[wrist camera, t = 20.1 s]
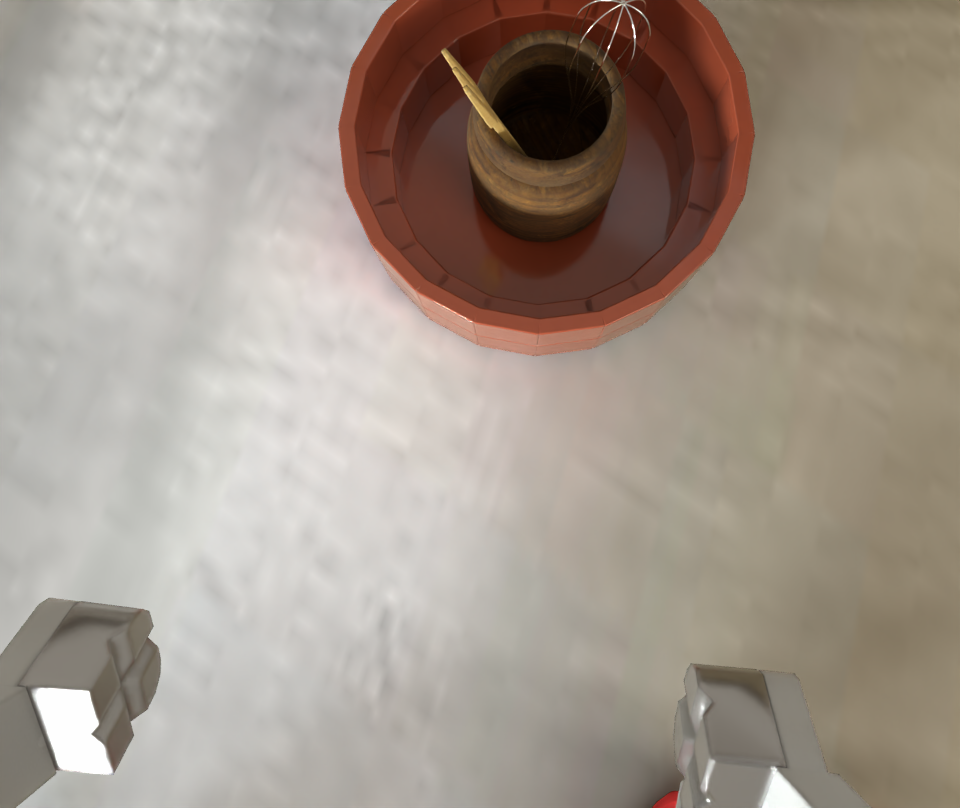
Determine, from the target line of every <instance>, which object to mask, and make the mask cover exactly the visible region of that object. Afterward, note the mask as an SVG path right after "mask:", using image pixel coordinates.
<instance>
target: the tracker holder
mask: <svg viewBox="0 0 960 808" xmlns="http://www.w3.org/2000/svg"><path fill="white" fill-rule="evenodd" d="M683 781H684V780H683ZM683 781H681V783H680V788H679V791H672V792H670V793H668V794H667V795H666V796H664V797H663V798H662V799H660V800H659V801H657V802H656V804H655V805H654V806H653V807H652V808H681V801H680V792H681V788H682V784H683Z"/></svg>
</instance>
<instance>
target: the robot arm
mask: <svg viewBox="0 0 960 808" xmlns="http://www.w3.org/2000/svg"><path fill="white" fill-rule="evenodd" d="M153 627H154V626H153V622H152V619H151V615H150V612H149V611H148V610H144V609H138V608H130V607H123V606H115V605H107V604H99V603H91V602H84V601H72V600H64V599H56V598H48V599H46V600H45V601H43V602H42V603H40V604H39V605H38V606H37V607H36V608H35V610H34V611H33V612H32V614H31V615H30V616H29V618H28V619H27V620H26V622H25V623H24V624H23V626H22V627H21V628H20V630H19V631H18V632H17V634H16V635H15V636H14V638H13V639H12V640H11V642H10V643H9V644H8V646H7V647H6V648H5V650H4V651H3V652H2V654H1V655H0V808H16V807H17V806H18V805H19V804H21V803H22V802H23V801H24V800H25V799H27V798H28V797H29V796H30V795H31V794H33V793H34V792H35V791H36V790H37V789H39V788H40V787H41V786H42V785H43V784H45V783H46V782H47V781H48V780H49V779H51V778H52V777H53V776H54V775H55V774H56V770H60V771H72V772H84V773H96V774H109V775H114V773H115V771H116V769H117V767H118V765H119V763H120V761H121V759H122V757H123V755H124V754H125V752H126V750H127V748H128V746H129V744H130V742H131V740H132V738H133V736H134V733H133V730H132V726H131V722H130V721H132V720H133V719H135V718H136V717H137V716H139V715H140V714H142V713H143V712H145V711H146V710H147V709H148V707H149V705H150V703H151V701H152V699H153V697H154V695H155V693H156V689H157V685H158V681H159V677H160V672H161V658H160V653H159V648H158V646H157V645H155V644H154V643H153V642H152V641H151V640H150V639H149V638H148V636H149V634H150V632H151V630H152V629H153ZM684 685H685V692H686V696H685V697H683V698H682V699H681V700H679V701H678V705H677V710H676V714H675V723H674V753H675V762H676V767H677V768H678V769H679V771H680V772H681V773H682V774H683V775H684V781H683V784H682V788H681V792H680V801H681V808H872V807H871V806H870V805H869V804H868V803H867V802H866V801H865V800H864V799H863V798H862V797H861V796H860V795H859V794H858V793H857V792H856V791H855V790H854V789H853V788H852V787H851V786H850V785H849V784H848V783H847V782H846V781H845V780H844V779H843V778H842V777H841V776H840V775H839V774H834V773H828V770H827V767H826V764H825V761H824V757H823V754H822V751H821V748H820V744H819V741H818V738H817V735H816V731H815V728H814V725H813V722H812V718H811V715H810V712H809V709H808V706H807V702H806V699H805V696H804V693H803V689H802V686H801V683H800V680H799V678H798V677H797V676H796V675H795V673H786V672H775V671H765V670H759V671H758V670H757V669H748V668H736V667H725V666H714V665H703V664H690V665H689V667H688V668H687V671H686V675H685V678H684Z"/></svg>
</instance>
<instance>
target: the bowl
mask: <svg viewBox="0 0 960 808" xmlns="http://www.w3.org/2000/svg"><path fill="white" fill-rule="evenodd" d="M591 1H592V0H397V1H396V2H394V3H393V4H392V5H391V6H390V7H389V8H388V9H387V10H386V11H385V12H384V14H382V16H381V17H380V19H379V21H378V22H377V24H376V26H375V27H374V29H373V31H372V33H371V34H370V36H369V38H368V39H367V41H366V43H365V45H364V46H363V48H362V50H361V51H360V53H359V55H358V56H357V58H356V60H355V62H354V63H353V65H352V67H351V71H350V75H349V80H348V85H347V89H346V94H345V98H344V103H343V108H342V112H341V117H340V121H339V128H338V129H339V138H340V147H341V156H342V165H343V174H344V183H345V188H346V192H347V194H348V196H349V198H350V200H351V202H352V205H353V207H354V209H355V211H356V213H357V215H358V218H359V220H360V222H361V224H362V226H363V228H364V230H365V233H366V235H367V237H368V239H369V241H370V243H371V245H372V247H373V249H374V250H375V252H376V254H377V256H378V257H379V259H380V261H381V262H382V264H383V266H384V268H385V269H386V271H387V273H388V275H389V276H390V277H391V279H392V280H393V281H394V283H395V284H396V285H397V286H398V287H399V288H400V289H401V290H402V291H403V292H404V293H405V294H406V295H407V296H408V297H409V298H410V299H411V300H412V302H413V303H414V304H415V305H416V306H417V307H418V308H419V309H420V310H421V311H422V312H423V313H424V314H425V315H426V316H427V317H429V319H430V320H432V321H434V322H436V323H438V324H440V325H441V326H443V327H445V328H447V329H449V330H451V331H453V332H454V333H456V334H458V335H460V336H462V337H464V338H465V339H467V340H469V341H471V342H473V343H475V344H477V345H480V346H483V347H489V348H494V349H500V350H505V351H510V352H516V353H521V354H527V355H532V356H540V355H547V354H555V353H563V352H571V351H578V350H586V349H592V347H593V348H595V347H597V346H599V345H601V344H603V343H605V342H608V341H610V340H612V339H614V338H616V337H618V336H620V335H623V334H625V333H627V332H629V331H631V330H633V329H635V328H637V327H640V326H642V325H643V324H644V323H646V322H648V321H649V320H650V319H651V318H652V317H653V316H654V315H655V314H656V313H657V312H658V311H659V310H660V309H661V308H662V307H664V306H665V305H666V304H667V303H668V302H669V301H670V300H671V299H672V298H673V297H674V296H675V295H676V294H677V293H678V292H679V291H681V290H682V289H683V288H684V287H685V286H686V285H687V283H688V282H689V281H690V280H691V279H692V278H693V276H694V275H695V274H696V273H697V272H698V271H699V270H700V268H701V267H702V266H703V265H704V264H705V263H706V261H707V260H708V259H709V258H710V257H711V256H712V254H713V253H714V252H715V250H716V248H717V246H718V245H719V243H720V241H721V239H722V237H723V235H724V233H725V232H726V230H727V228H728V226H729V224H730V222H731V220H732V219H733V217H734V215H735V213H736V211H737V209H738V207H739V206H740V204H741V202H742V200H743V197H744V195H745V190H746V184H747V178H748V172H749V166H750V160H751V154H752V148H753V143H754V137H755V134H754V133H755V131H754V125H753V119H752V113H751V107H750V101H749V95H748V89H747V83H746V77H745V72H744V69H743V68H742V66H741V64H740V62H739V60H738V58H737V56H736V55H735V53H734V51H733V49H732V47H731V45H730V43H729V41H728V40H727V38H726V36H725V34H724V32H723V30H722V28H721V26H720V25H719V23H718V21H717V19H716V17H714V15H713V14H712V13H711V12H710V11H709V10H708V9H707V8H706V7H705V6H704V5H703V4H702V3H700V2H699V1H698V0H644V1H645V3H646V12H645V14H644V15H645V17H646V18H647V20H648V22H649V25H650V30H651V33H650V38H649V41H648V44H647V46H646V48H645V50H644V52H643V54H642V57H641V59H640V60H639V62H638V64H637V65H636V67H635V68H634V70H633V71H632V72H631V73H630V74H629V75H628V76H627V77H626V78H625V79H624V80H623V85H624V90H625V97H626V121H627V145H626V151H625V155H624V159H623V163H622V167H621V170H620V173H619V175H618V178H617V181H616V184H615V187H614V189H613V192H612V194H611V196H610V199H609V200H608V202H607V204H606V206H605V207H604V209H603V210H602V212H601V213H600V214H599V216H598V217H597V218H596V219H595V220H594V221H593V222H592V223H591V224H590V225H589V226H587V227H586V228H585V229H583V230H582V231H580V232H578V233H577V234H575V235H573V236H570V237H568V238H565V239H562V240H558V241H553V242H532V241H527V240H523V239H520V238H517V237H514V236H512V235H510V234H508V233H507V232H505V231H503V230H502V229H500V228H499V227H498V226H497V225H495V224H494V223H493V222H492V221H491V220H490V219H489V217H488V216H487V215H486V214H485V212H484V211H483V209H482V208H481V206H480V204H479V202H478V200H477V198H476V195H475V192H474V189H473V185H472V181H471V176H470V169H469V162H468V153H467V126H468V120H469V115H470V112H471V109H472V106H473V103H472V102H471V101H470V99H469V98H468V96H467V95H466V93H465V91H464V90H463V86H462V85H461V83H460V82H459V80H458V79H457V77H456V76H455V74H454V73H453V71H452V68H451V66H450V65H449V63H448V62H447V60H446V59H445V57H444V56H443V54H442V52H441V51H442V49H444V48H446V49H447V50H448V51H449V53H450V54H451V55H452V56H453V57H454V58H455V60H456V61H457V62H458V63H459V64H460V65H461V67H462V68H463V69H464V70H465V71H466V72H467V74H468V75H469V76H470V77H471V78H472V80H473V81H474V82H475V84H476V85H478V82H479V79H480V76H481V74H482V72H483V70H484V68H485V66H486V65H487V63H488V62H489V60H490V59H491V58H492V57H493V55H494V54H495V53H496V52H497V51H498V50H499V49H501V48H502V47H503V46H504V45H506V44H507V43H509V42H510V41H512V40H513V39H515V38H517V37H520V36H522V35H525V34H527V33H531V32H535V31H541V30H562V31H567V32H569V31H570V29H571V27H572V24H573V22H574V20H575V17H576V16H577V14H578V12H579V11H580V10H581V9H582V8H583V7H584V6H585V5H587V4H589V3H591ZM593 1H597V0H593ZM617 1H619V0H617ZM623 1H624V0H623ZM626 1H629V0H625V2H626ZM620 2H621V0H620ZM617 4H618V2H612V1H600V2H596V3H593V4H591V6H590V9H589V11H588V13H587V16H586V19H585V21H584V25H583V28H582V32H581V36H584V35H585V33H586V32H587V31H588V29H589V28H590V27H591V26H592V25H593V24H594V23H595V22H596V21H597V20H598V19H599V18H600V17H601V16H602V15H604V14H605V13H606V12H608V11H609V10H611V9H612V8H614V7H616V6H617ZM619 4H621V3H619ZM627 4H629V5H631V6H633V7H635V8H637V9H638V10H639V11H641V12H642V13H644V10H645V5H644V2H642V1H640V0H636V1H631V2H628V3H627ZM626 6H627V5H626ZM588 7H589V6H587V7H585V8H584V9H583V10H582V11H581V12H580V13H579V15H578V17H577V19H576V21H575V23H574V26H573V28H572V30H571V33H575V34H578V35H580V30H581V26H582V23H583V20H584V17H585V14H586V12H587V10H588ZM627 8H628V10H629V12H630V15H631V17H632V20H633V24H634V29H635V31H636V29H637V27H638V24H639V22H640V20H641V18H642V15H641V14H640V13H639V12H638V11H636V10H635V9H633V8H631V7H629V6H627ZM621 9H622V5H621V6H619V7H617V9H616V12H615V14H614V16H613V18H612V21H611V23H610V25H609V28H608V30H607V33H606V35H605V38H604V40H603V43H602V45H601V49H602V50H604V51H605V52H607V49H608V47H609V44H610V42H611V39H612V36H613V33H614V30H615V28H616V25H617V21H618V18H619V15H620V12H621ZM614 10H615V9H614ZM614 10H612V11H611V12H609V13H608V14H606V15H605V16H604V17H602V18H601V19H600V20H599V21H598V22H597V23H596V24H595V25H594V26H593V27H592V28H591V29H590V31H589V32H588V33H587V35H586V36H585V38H587V39H589V40H590V41H592V42H594V43H595V44H596V45H598V46H599V47H600V44H601V42H602V39H603V36H604V34H605V31H606V29H607V27H608V24H609V22H610V19H611V17H612V15H613V13H614ZM633 35H634V32H633V27H632V23H631V19H630V17H629V14H628V12H627V10H626V8H625V6H624V7H623V11H622V14H621V17H620V20H619V23H618V26H617V29H616V32H615V35H614V38H613V41H612V43H611V46H610V48H609V51H608V54H607V55H608V56H609V57H610V58H611V59H612V61H613V62H614V63H615V62H616V61H617V60H618V58H619V57H620V56H621V54H622V53H623V51H624V50H625V49H626V47H627V45H628V44H629V42H630V40H631V39H632V37H633ZM635 37H636V45H635V53H634V56H633V59H632V62H631V64H630V66H629V68H628V71H627V73H626V75H627V74H628V73H629V72H630V71H631V70H632V69H633V67H634V66H635V64H636V63H637V61H638V59H639V57H640V55H641V53H642V51H643V49H644V47H645V44H646V42H647V39H648V37H649V27H648V24H647V22H646V20H645V18H644V17H643V19H642V21H641V23H640V26H639V28H638V30H637V32H636V34H635ZM633 50H634V38H633V40H632V41H631V43H630V45H629V46H628V48H627V50H626V51H625V52H624V54H623V55H622V57H621V58H620V59H619V60H618V62H617V63H616V64H615V65H616V67H617V69H618V71H619V73H620V76H621V78H623V76H624V74H625V71H626V69H627V67H628V65H629V63H630V60H631V58H632V55H633ZM626 75H625V76H626Z"/></svg>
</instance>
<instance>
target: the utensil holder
mask: <svg viewBox="0 0 960 808" xmlns="http://www.w3.org/2000/svg"><path fill="white" fill-rule="evenodd" d="M600 1H612V2H618V4H617V6H616V7H614V8H612V9H611V10H609V11H608V12H606V13H605V14H604V15H602V16H601V17H600V18H599V19H598V20H597V21H596V22H595V23H594V24H593V25H592V26H591V27H590V28H589V29H588V31H587V32H586V33H585V35H584V36H581V32H582V28H583V25H584V21H585V19H586V16H587V13H588V11H589V9H590V6H591V4H593V3H596V2H600ZM631 1H636V0H629V1H626V2H625V0H624V1H623V0H621V2H620V0H619V1H617V0H597V1H593V0H592V1H591V3H589V4H587V5H585V6H584V7H583V8H582V9H581V10H580V11H579V12H578V14H577V16H576V17H575V20H574V22H573V24H572V27H571V29H570V31H569V32H567V31H562V30H541V31H535V32H531V33H527V34H525V35H522V36H520V37H517V38H515V39H513V40H512V41H510V42H509V43H507V44H506V45H504V46H503V47H502V48H501V49H499V50H498V51H497V52H496V53H495V54H494V55H493V57H492V58H491V59H490V60H489V62H488V63H487V65H486V66H485V68H484V70H483V72H482V74H481V76H480V79H479V82H478V85H476V84H475V82H474V81H473V80H472V78H471V77H470V76H469V75H468V74H467V72H466V71H465V70H464V69H463V68H462V67H461V65H460V64H459V63H458V62H457V61H456V60H455V58H454V57H453V56H452V55H451V54H450V53H449V51H448V50H447V49H446V48H444V49H442V51H441V52H442V54H443V56H444V57H445V59H446V60H447V62H448V63H449V65H450V66H451V68H452V71H453V73H454V74H455V76H456V77H457V79H458V80H459V82H460V83H461V85H462V86H463V90H464V91H465V93H466V95H467V96H468V98H469V99H470V101H471V102H472V103H473V106H472V109H471V112H470V115H469V120H468V126H467V153H468V162H469V169H470V176H471V181H472V185H473V189H474V192H475V195H476V198H477V200H478V202H479V204H480V206H481V208H482V209H483V211H484V212H485V214H486V215H487V216H488V217H489V219H490V220H491V221H492V222H493V223H494V224H495V225H497V226H498V227H499V228H500V229H502V230H503V231H505V232H507V233H508V234H510V235H512V236H514V237H517V238H520V239H523V240H527V241H532V242H553V241H558V240H562V239H565V238H568V237H570V236H573V235H575V234H577V233H578V232H580V231H582V230H583V229H585V228H586V227H587V226H589V225H590V224H591V223H592V222H593V221H594V220H595V219H596V218H597V217H598V216H599V214H600V213H601V212H602V210H603V209H604V207H605V206H606V204H607V202H608V200H609V199H610V196H611V194H612V192H613V189H614V187H615V184H616V181H617V178H618V175H619V173H620V170H621V167H622V163H623V159H624V155H625V151H626V145H627V121H626V97H625V90H624V85H623V80H624V79H625V78H626V77H627V76H628V75H629V74H630V73H631V72H632V71H633V70H634V68H635V67H636V65H637V64H638V62H639V60H640V59H641V57H642V54H643V52H644V50H645V48H646V46H647V44H648V41H649V38H650V33H651V30H650V25H649V22H648V20H647V18H646V17H645V15H644V14H645V12H646V3H645V1H644V0H640V1H642V2H644V5H645V10H644V13H642V12H641V11H639V10H638V9H637V8H635V7H633V6H631V5H629V4H627V3H628V2H631ZM619 3H621V4H619ZM621 5H622V9H621V12H620V15H619V18H618V21H617V25H616V28H615V30H614V33H613V36H612V39H611V42H610V44H609V47H608V49H607V52H605V51H604V50H602V49H601V45H602V43H603V40H604V38H605V35H606V33H607V30H608V28H609V25H610V23H611V21H612V18H613V16H614V14H615V12H616V9H617V7H619V6H621ZM626 5H627V6H629V7H631V8H633V9H635V10H636V11H638V12H639V13H640V14H641V15H642V18H641V20H640V22H639V24H638V27H637V29H636V31H635V29H634V24H633V20H632V17H631V15H630V12H629V10H628V8H627V6H626ZM587 6H589V7H588V10H587V12H586V14H585V17H584V20H583V23H582V26H581V30H580V35H578V34H575V33H571V30H572V28H573V26H574V23H575V21H576V19H577V17H578V15H579V13H580V12H581V11H582V10H583V9H584V8H585V7H587ZM624 6H625V8H626V10H627V12H628V14H629V17H630V19H631V23H632V27H633V32H634V35H633V37H632V39H631V40H630V42H629V44H628V45H627V47H626V49H625V50H624V51H623V53H622V54H621V56H620V57H619V58H618V60H619V59H620V58H621V57H622V55H623V54H624V52H625V51H626V50H627V48H628V46H629V45H630V43H631V41H632V40H633V38H634V50H633V55H632V58H631V60H630V63H629V65H628V67H627V69H626V71H625V74H624V76H623V78H621V76H620V73H619V71H618V69H617V67H616V65H615V64H616V63H617V62H618V60H617V61H616V62H615V63H614V62H613V61H612V59H611V58H610V57H609V56H608V55H607V54H608V51H609V48H610V46H611V43H612V41H613V38H614V35H615V32H616V29H617V26H618V23H619V20H620V17H621V14H622V11H623V7H624ZM614 9H615V10H614ZM612 10H614V13H613V15H612V17H611V19H610V22H609V24H608V27H607V29H606V31H605V34H604V36H603V39H602V42H601V44H600V47H599V46H598V45H596V44H595V43H594V42H592V41H590V40H589V39H587V38H585V36H586V35H587V33H588V32H589V31H590V29H591V28H592V27H593V26H594V25H595V24H596V23H597V22H598V21H599V20H600V19H601V18H602V17H604V16H605V15H606V14H608V13H609V12H611V11H612ZM643 17H644V18H645V20H646V22H647V24H648V27H649V37H648V39H647V42H646V44H645V47H644V49H643V51H642V53H641V55H640V57H639V59H638V61H637V63H636V64H635V66H634V67H633V69H632V70H631V71H630V72H629V73H628V74H627V75H626V73H627V71H628V68H629V66H630V64H631V62H632V59H633V56H634V53H635V45H636V37H635V34H636V32H637V30H638V28H639V26H640V23H641V21H642V19H643ZM625 75H626V76H625Z"/></svg>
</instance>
